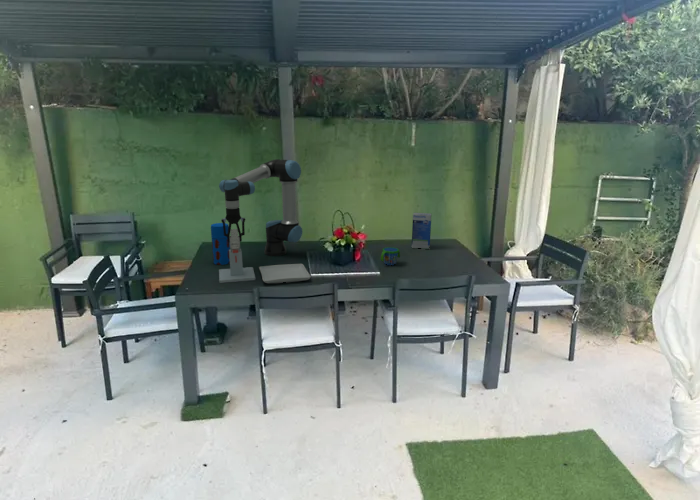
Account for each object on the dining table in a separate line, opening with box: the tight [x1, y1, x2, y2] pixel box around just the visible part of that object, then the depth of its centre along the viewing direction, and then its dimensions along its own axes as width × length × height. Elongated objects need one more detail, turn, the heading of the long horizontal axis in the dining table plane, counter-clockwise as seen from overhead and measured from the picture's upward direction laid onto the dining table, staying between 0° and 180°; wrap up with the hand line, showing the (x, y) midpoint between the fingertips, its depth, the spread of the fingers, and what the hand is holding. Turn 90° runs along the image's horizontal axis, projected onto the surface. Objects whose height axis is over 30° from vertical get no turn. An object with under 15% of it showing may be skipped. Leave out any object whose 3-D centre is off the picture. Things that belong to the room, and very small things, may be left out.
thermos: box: [210, 222, 231, 266], centre depth 282 cm, size 11×11×25 cm
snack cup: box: [380, 246, 401, 266], centre depth 286 cm, size 16×10×10 cm
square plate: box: [258, 263, 311, 284], centre depth 261 cm, size 27×27×4 cm
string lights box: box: [411, 212, 432, 249], centre depth 322 cm, size 13×8×26 cm, turn 77°
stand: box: [218, 248, 256, 284], centre depth 259 cm, size 20×20×16 cm
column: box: [230, 228, 240, 252], centre depth 257 cm, size 4×4×26 cm
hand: (235, 247), depth 257 cm, fingers closed on column, 4 cm apart
